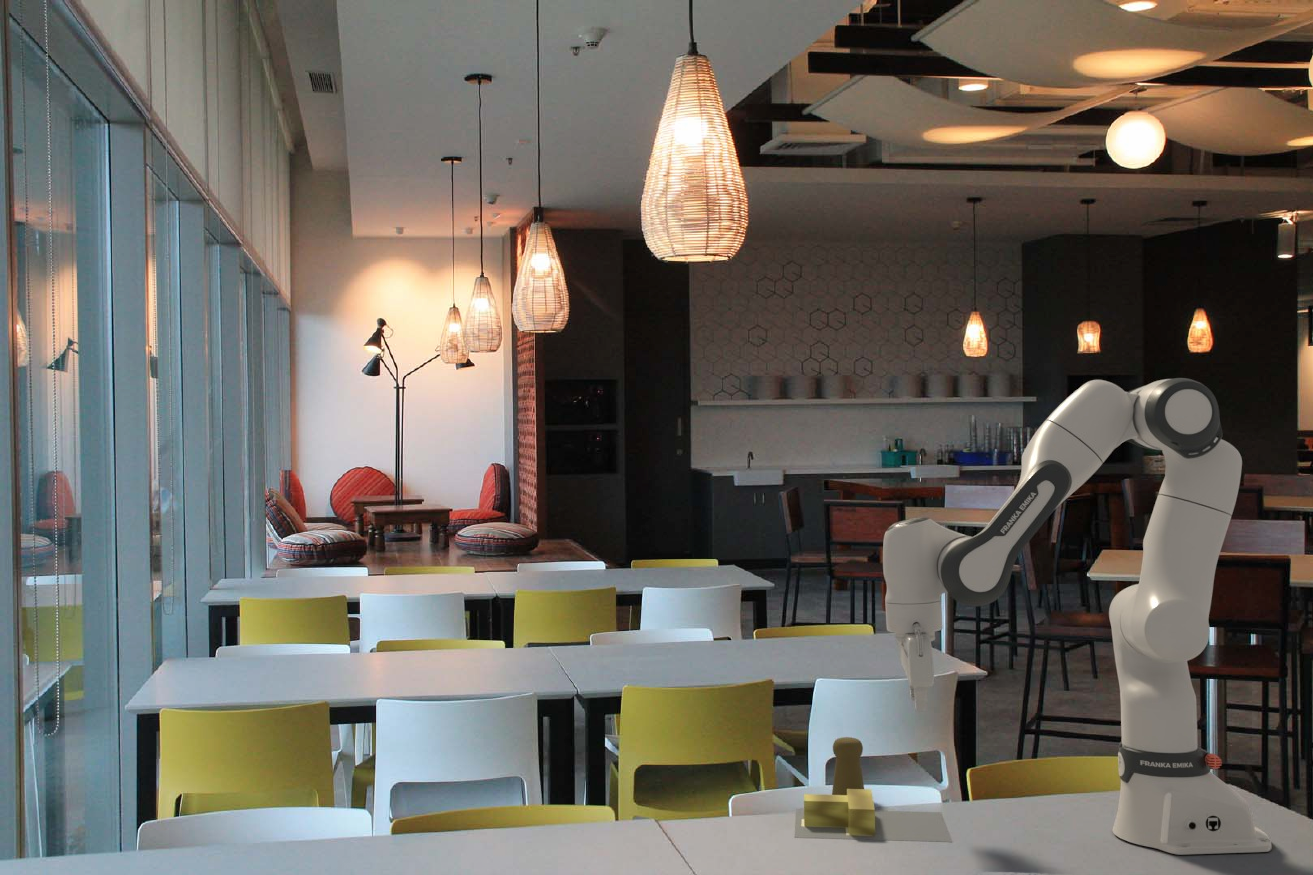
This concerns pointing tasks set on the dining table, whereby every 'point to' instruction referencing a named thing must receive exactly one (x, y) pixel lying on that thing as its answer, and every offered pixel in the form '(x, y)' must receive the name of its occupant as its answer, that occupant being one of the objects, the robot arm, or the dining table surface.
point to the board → (884, 827)
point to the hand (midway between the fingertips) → (919, 705)
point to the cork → (847, 765)
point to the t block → (842, 811)
